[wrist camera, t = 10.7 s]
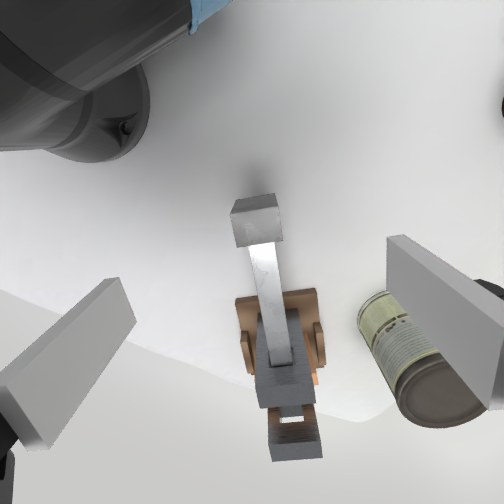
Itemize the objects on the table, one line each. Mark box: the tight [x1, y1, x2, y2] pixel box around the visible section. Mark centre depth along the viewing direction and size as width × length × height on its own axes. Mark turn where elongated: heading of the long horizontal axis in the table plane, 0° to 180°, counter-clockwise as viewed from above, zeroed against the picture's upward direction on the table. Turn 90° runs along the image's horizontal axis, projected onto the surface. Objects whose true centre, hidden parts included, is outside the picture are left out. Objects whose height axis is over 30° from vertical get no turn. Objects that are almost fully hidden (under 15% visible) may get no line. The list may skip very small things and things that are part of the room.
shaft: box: [230, 193, 293, 368], centre depth 29 cm, size 20×4×6 cm, turn 10°
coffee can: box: [358, 291, 487, 428], centre depth 36 cm, size 10×10×14 cm
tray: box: [235, 288, 326, 375], centre depth 42 cm, size 14×12×4 cm
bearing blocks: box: [255, 308, 323, 462], centre depth 37 cm, size 12×6×14 cm, turn 10°
